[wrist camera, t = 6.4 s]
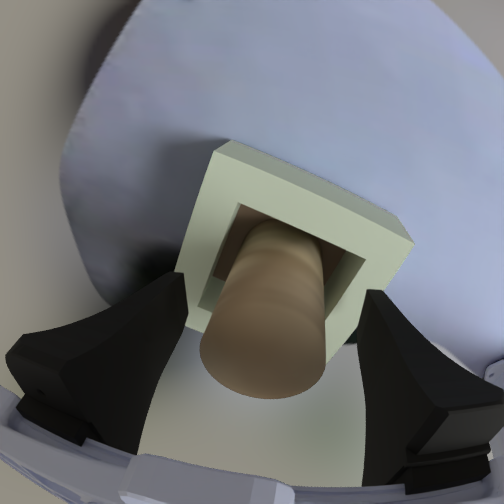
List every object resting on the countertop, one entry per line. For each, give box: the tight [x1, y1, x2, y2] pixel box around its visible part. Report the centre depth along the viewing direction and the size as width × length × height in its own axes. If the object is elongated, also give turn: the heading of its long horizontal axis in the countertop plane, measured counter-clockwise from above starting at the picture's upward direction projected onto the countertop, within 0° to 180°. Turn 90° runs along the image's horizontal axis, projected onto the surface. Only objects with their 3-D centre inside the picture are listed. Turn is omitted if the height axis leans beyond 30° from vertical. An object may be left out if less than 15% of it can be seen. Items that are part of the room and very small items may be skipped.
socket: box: [174, 140, 415, 364], centre depth 15 cm, size 8×8×3 cm
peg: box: [200, 219, 326, 399], centre depth 13 cm, size 4×4×7 cm
